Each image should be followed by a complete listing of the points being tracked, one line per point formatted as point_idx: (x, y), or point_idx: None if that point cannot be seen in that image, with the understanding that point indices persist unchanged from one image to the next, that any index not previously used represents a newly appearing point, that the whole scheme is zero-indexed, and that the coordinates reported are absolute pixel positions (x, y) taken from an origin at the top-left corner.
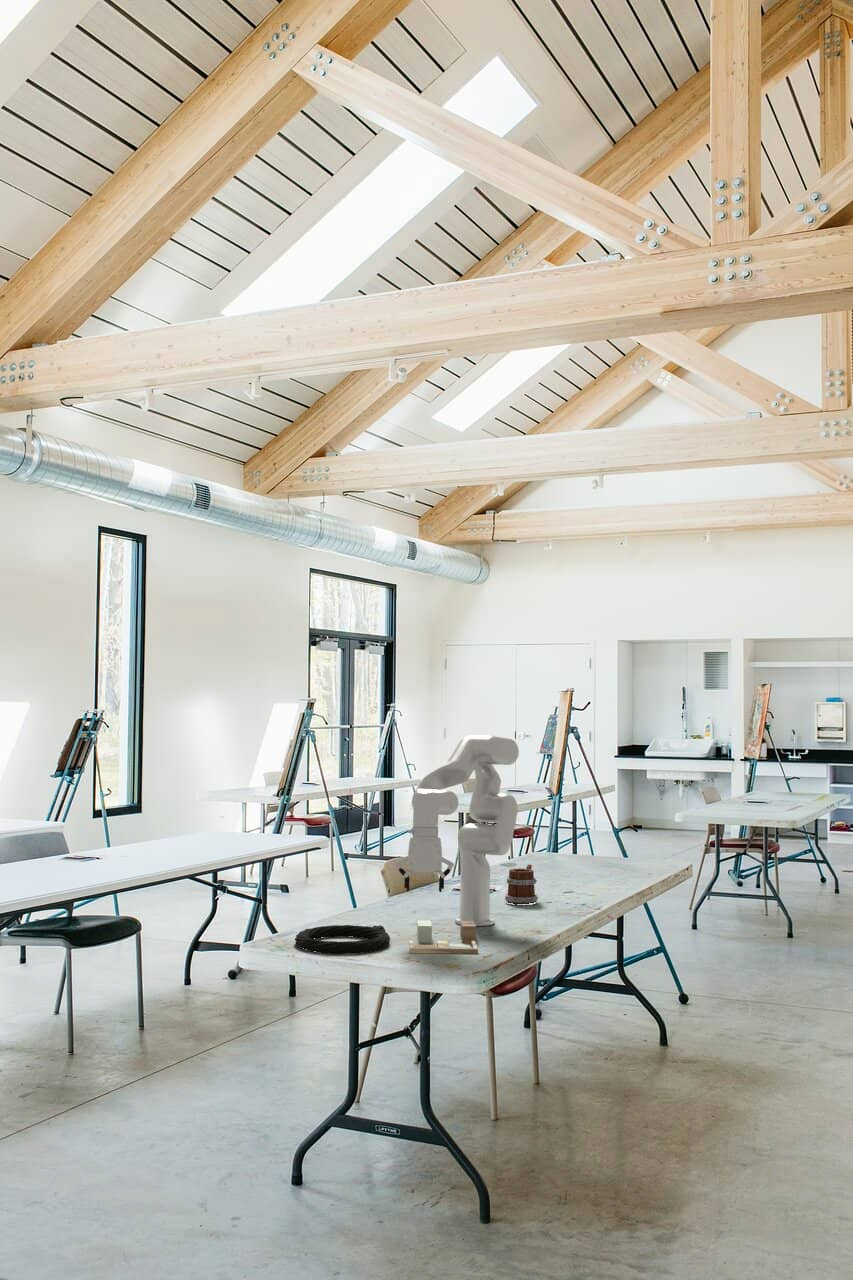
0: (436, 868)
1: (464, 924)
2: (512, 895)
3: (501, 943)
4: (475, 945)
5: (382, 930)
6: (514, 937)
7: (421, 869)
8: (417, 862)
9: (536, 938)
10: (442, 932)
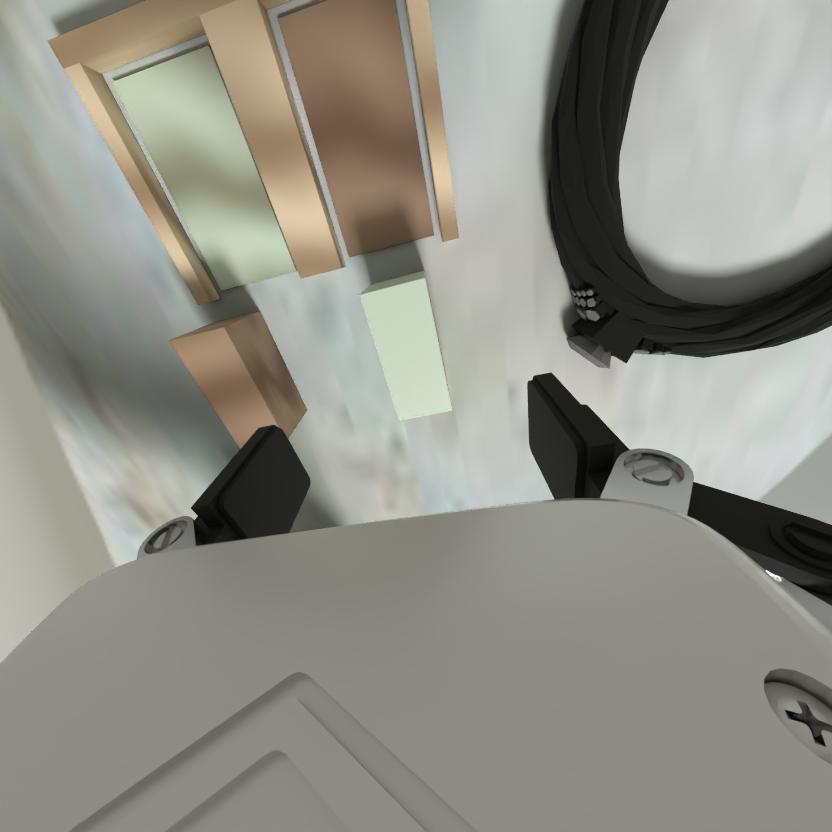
0: (103, 606)
1: (235, 370)
2: None
3: (131, 341)
4: (123, 164)
5: (597, 274)
6: (153, 439)
7: (404, 545)
8: (562, 787)
9: (88, 440)
10: (380, 458)
